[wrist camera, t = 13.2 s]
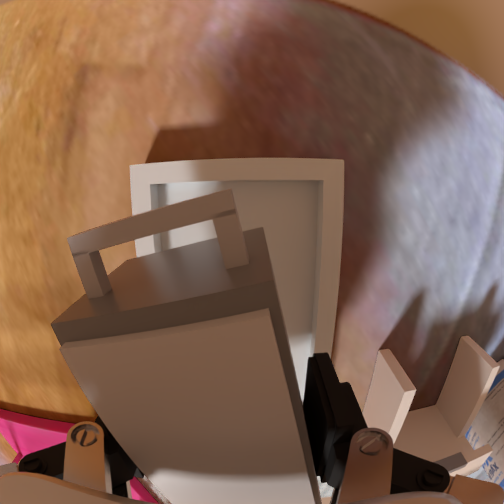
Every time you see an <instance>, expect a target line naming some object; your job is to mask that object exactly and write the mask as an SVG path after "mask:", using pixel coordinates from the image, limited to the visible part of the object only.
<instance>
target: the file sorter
mask: <svg viewBox="0 0 504 504" xmlns="http://www.w3.org/2000/svg"><path fill="white" fill-rule="evenodd" d="M74 425H75V424H74V423H67V422H61V421H55V420H49V419H43V418H38V417H33V416H28V415H24V414H19V413H15V412H11V411H7V410H3V409H0V432H1V434H2V435H3V436H4V438H5V439H6V440H7V441H8V443H9V444H10V445H11V447H12V448H13V449H14V450H15V451H16V453H17V456H16V457H15V459H14V460H13V462H12V463H14V462H16V464H18V462H19V461H20V459H22V458H23V457H24V456H25V455H27V454H29V453H32V452H36V451H39V450H42V449H45V448H48V447H51V446H54V445H57V444H60V443H62V442H65V441H66V439H67V433H68V431H69V429H70V428H71V427H72V426H74ZM129 481H130V487H131V494H132V499H135V500H140V501H145V502H151V503H156V504H159V503H158V502H157V501H156V500H155V499H154V498H153V497H152V496H151V494H150V493H149V492H148V491H147V490H146V489H145V488H144V486H143V485H142V484H141V483H140V482H139V481H138V480H137V478H136V477H134V478H133V479H131V480H129Z"/></svg>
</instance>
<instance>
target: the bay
mask: <svg viewBox="0 0 504 504" xmlns="http://www.w3.org/2000/svg"><path fill="white" fill-rule="evenodd" d="M499 367H500V365H499V364H498V363H497V362H496V361H495V360H494V359H493V358H492V357H490V356H489V355H488V354H487V353H486V352H485V351H484V350H483V349H482V348H481V347H480V346H479V345H478V344H477V343H476V342H475V341H474V340H472V339H471V338H470V337H469V336H468V335H467V336H462V337H461V338H460V341H459V344H458V347H457V350H456V353H455V356H454V359H453V362H452V365H451V367H450V370H449V373H448V376H447V378H446V381H445V383H444V386H443V388H442V391H441V393H440V396H439V398H438V400H437V403H436V405H433V406H429V407H425V408H421V409H417V410H413V411H409V412H408V410H409V408H410V405H411V403H412V400H413V398H414V395H415V392H416V390H417V389H416V388H415V386H414V385H413V383H412V382H411V380H410V379H409V377H408V376H407V374H406V373H405V371H404V370H403V368H402V367H401V365H400V364H399V362H398V361H397V359H396V358H395V356H394V355H393V353H392V352H391V351H390V349H383V350H379V351H378V356H377V360H376V364H375V369H374V373H373V377H372V381H371V385H370V388H369V392H368V396H367V399H366V403H365V406H364V410H363V413H362V414H363V417H364V419H365V422H366V424H367V427H368V428H379V429H382V430H384V431H386V432H387V433H388V434H389V435H390V436H391V438H392V439H393V448H396V449H398V450H401V451H403V452H406V453H409V454H411V455H414V456H417V457H419V458H422V459H425V460H428V461H431V462H434V463H437V464H439V465H441V466H443V467H444V468H445V469H447V471H448V473H449V474H450V476H455V475H456V474H458V475H462V476H467V475H469V474H472V473H474V472H476V471H478V470H479V468H480V467H481V466H482V465H483V463H484V462H485V461H486V459H487V458H488V457H489V455H490V454H491V453H492V451H493V449H492V448H491V446H490V445H489V443H488V444H486V445H484V446H482V447H480V448H478V449H476V450H474V449H473V448H472V446H471V445H470V443H469V442H468V440H467V438H466V437H465V434H466V433H467V431H468V429H469V427H470V426H471V424H472V422H473V420H474V419H475V417H476V415H477V413H478V411H479V409H480V407H481V406H482V404H483V402H484V400H485V398H486V396H487V394H488V392H489V389H490V387H491V385H492V383H493V381H494V379H495V376H496V374H497V372H498V369H499Z"/></svg>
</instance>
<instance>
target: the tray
mask: <svg viewBox="0 0 504 504" xmlns="http://www.w3.org/2000/svg"><path fill="white" fill-rule="evenodd" d="M130 182H131V200H132V214H133V215H137V214H140V213H143V212H147V211H150V210H153V209H157V208H160V207H164V206H167V205H171V204H174V203H178V202H181V201H185V200H189V199H192V198H196V197H200V196H204V195H207V194H211V193H215V192H219V191H223V190H227V189H231V188H232V191H233V196H234V200H235V204H236V208H237V212H238V216H239V220H240V224H241V228H242V232H243V231H247V230H251V229H255V228H260V227H263V229H264V233H265V237H266V242H267V246H268V250H269V255H270V259H271V263H272V268H273V272H274V276H275V281H276V285H277V290H278V294H279V298H280V303H281V307H282V312H283V316H284V321H285V325H286V330H287V334H288V339H289V344H290V348H291V353H292V357H293V362H294V367H295V371H296V376H297V381H298V385H299V390H300V395H301V400H302V405H303V400H304V391H305V382H306V373H307V363H308V357H313V354H314V353H324V352H328V354H329V356H330V359H331V352H332V345H333V337H334V329H335V320H336V311H337V301H338V290H339V279H340V266H341V251H342V233H343V209H344V160H341V159H318V158H226V159H203V160H186V161H171V162H159V163H148V164H138V165H130ZM213 238H217V235H216V231H215V227H214V223H213V220H208V221H204V222H200V223H196V224H192V225H188V226H184V227H180V228H177V229H173V230H169V231H165V232H162V233H158V234H154V235H151V236H147V237H143V238H140V239H136V240H135V246H136V255H137V257H141V256H145V255H149V254H153V253H157V252H160V251H164V250H168V249H172V248H176V247H181V246H185V245H189V244H193V243H197V242H201V241H205V240H209V239H213Z"/></svg>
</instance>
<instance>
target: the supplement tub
mask: <svg viewBox="0 0 504 504" xmlns="http://www.w3.org/2000/svg"><path fill="white" fill-rule="evenodd" d="M497 363H498V364H499V365H500V367H499V369H498V372H497V374H496V376H495V379H494V381H493V383H492V385H491V387H490V389H489V392H488V394H487V396H486V398H485V400H484V402H483V404H482V406H481V407H480V409H479V411H478V413H477V415H476V417H475V419H474V420H473V422H472V424H471V426H470V427H469V429H468V431H467V433H466V434H465V437H466V438H467V440H468V442H469V443H470V445H471V446H472V448H473V449H474V450H476V449H478V448H480V447H482V446H484V445H486V444H488V443H489V445H490V446H491V448H492V449H493V451H492V453H491V454H490V455H489V457H488V458H487V459H486V461H485V462H484V463H483V465H482V466H483V468H484V470H485V471H486V473H487V474H488V476H489V478H490V479H491V481H492V483H496V484H498V485H500V486H501V487H502V488H503V490H504V359H502V360H500V361H499V362H497ZM503 502H504V501H503Z"/></svg>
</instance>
